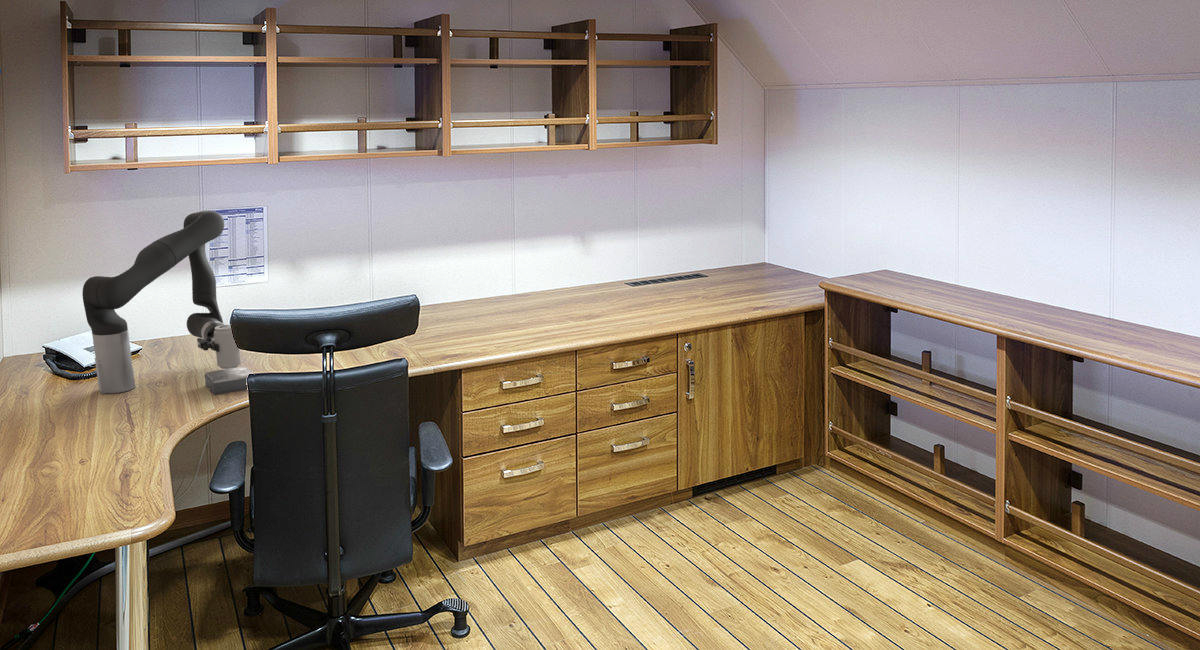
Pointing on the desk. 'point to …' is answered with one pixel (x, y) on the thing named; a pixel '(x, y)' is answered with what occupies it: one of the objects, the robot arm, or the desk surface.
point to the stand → (227, 380)
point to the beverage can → (226, 348)
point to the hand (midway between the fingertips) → (229, 346)
